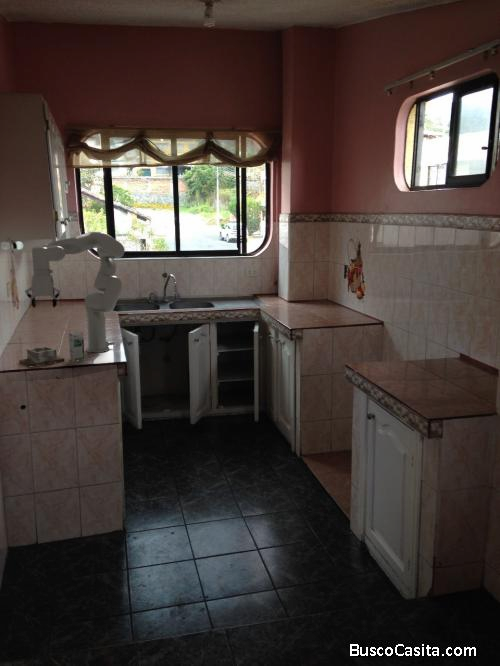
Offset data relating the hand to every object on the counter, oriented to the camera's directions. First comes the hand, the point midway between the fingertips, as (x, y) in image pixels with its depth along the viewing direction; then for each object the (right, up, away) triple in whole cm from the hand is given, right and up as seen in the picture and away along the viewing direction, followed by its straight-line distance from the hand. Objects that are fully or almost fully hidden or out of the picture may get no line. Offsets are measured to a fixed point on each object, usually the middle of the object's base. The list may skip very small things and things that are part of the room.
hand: (44, 307), depth 294 cm
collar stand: (-3, -28, +6) cm, 28 cm away
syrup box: (+13, -27, +11) cm, 32 cm away
